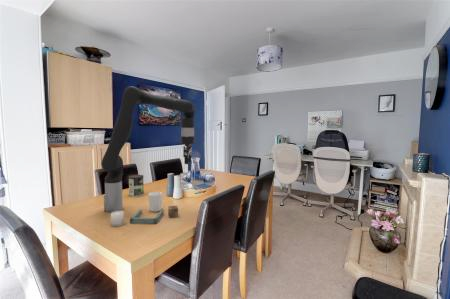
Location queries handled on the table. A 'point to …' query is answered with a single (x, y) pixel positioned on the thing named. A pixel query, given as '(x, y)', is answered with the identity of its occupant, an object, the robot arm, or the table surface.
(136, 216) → the display frame
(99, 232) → the table surface
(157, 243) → the table surface
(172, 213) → the walnut block
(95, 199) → the table surface
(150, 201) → the white cup
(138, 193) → the coffee can
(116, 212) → the white rounded block
